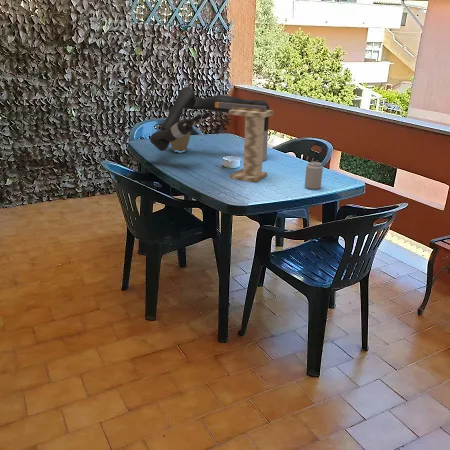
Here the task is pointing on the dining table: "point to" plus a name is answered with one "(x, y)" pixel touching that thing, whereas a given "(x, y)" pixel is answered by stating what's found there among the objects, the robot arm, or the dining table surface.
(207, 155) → the dining table surface
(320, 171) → the can
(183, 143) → the plant pot
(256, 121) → the stand
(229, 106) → the bar
